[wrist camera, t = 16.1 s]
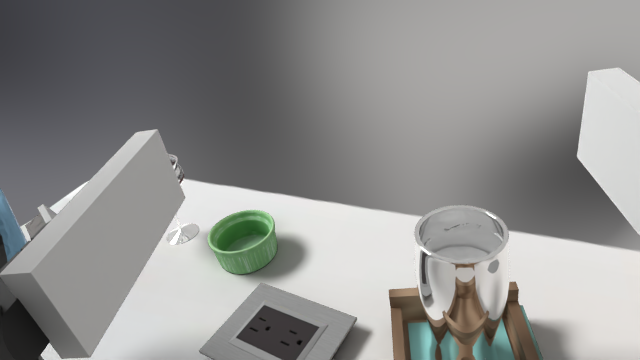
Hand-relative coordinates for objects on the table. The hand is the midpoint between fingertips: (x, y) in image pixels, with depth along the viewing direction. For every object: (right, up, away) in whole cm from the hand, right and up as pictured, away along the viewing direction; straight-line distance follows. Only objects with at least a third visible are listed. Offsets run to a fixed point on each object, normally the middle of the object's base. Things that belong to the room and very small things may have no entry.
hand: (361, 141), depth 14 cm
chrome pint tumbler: (+12, -18, +26) cm, 34 cm away
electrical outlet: (-5, -19, +34) cm, 39 cm away
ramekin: (-11, -12, +48) cm, 50 cm away
